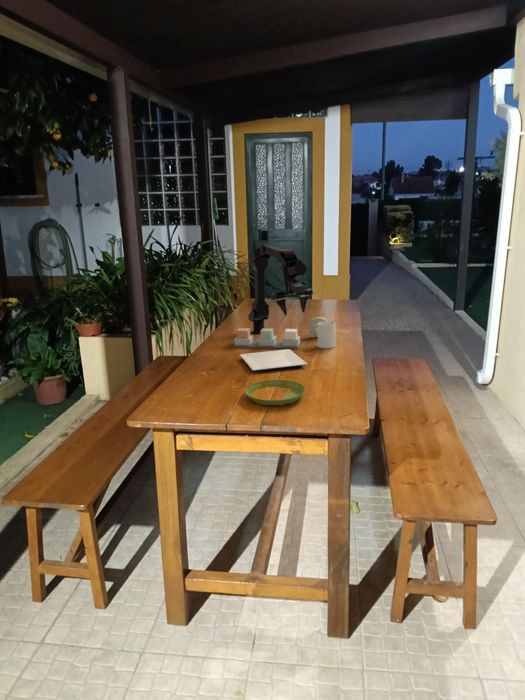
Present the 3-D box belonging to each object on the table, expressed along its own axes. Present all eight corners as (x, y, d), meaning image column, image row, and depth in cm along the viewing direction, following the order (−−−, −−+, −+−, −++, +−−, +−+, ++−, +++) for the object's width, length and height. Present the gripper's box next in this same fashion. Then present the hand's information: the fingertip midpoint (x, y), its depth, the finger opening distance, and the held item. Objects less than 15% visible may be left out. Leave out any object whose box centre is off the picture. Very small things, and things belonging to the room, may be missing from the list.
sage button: (262, 336, 253) (262, 328, 252) (273, 337, 252) (273, 328, 251) (260, 339, 248) (260, 331, 247) (271, 339, 247) (271, 331, 246)
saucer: (317, 395, 189) (317, 386, 188) (279, 414, 174) (278, 405, 173) (272, 383, 202) (272, 375, 201) (232, 400, 187) (232, 391, 187)
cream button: (286, 337, 251) (286, 328, 250) (297, 337, 250) (297, 329, 249) (284, 340, 246) (284, 331, 245) (295, 340, 245) (295, 331, 244)
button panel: (239, 341, 259) (238, 333, 258) (300, 343, 253) (300, 335, 252) (234, 347, 249) (233, 339, 248) (297, 349, 244) (297, 340, 243)
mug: (333, 349, 242) (333, 325, 239) (316, 348, 244) (316, 325, 241) (338, 341, 253) (338, 319, 250) (321, 341, 255) (321, 319, 252)
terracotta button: (239, 336, 255) (239, 328, 254) (250, 336, 254) (249, 328, 253) (237, 339, 251) (236, 330, 249) (247, 339, 250) (247, 330, 248)
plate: (252, 374, 212) (252, 369, 212) (239, 358, 233) (239, 354, 232) (307, 368, 218) (307, 363, 217) (289, 353, 239) (289, 348, 238)
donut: (308, 338, 261) (308, 317, 258) (308, 336, 264) (308, 316, 261) (329, 338, 260) (329, 317, 257) (329, 336, 263) (329, 316, 260)
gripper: (280, 278, 230) (285, 315, 230) (317, 274, 238) (322, 309, 239) (267, 281, 239) (273, 317, 240) (303, 277, 248) (308, 311, 249)
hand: (294, 313), depth 242 cm, fingers open, 9 cm apart
